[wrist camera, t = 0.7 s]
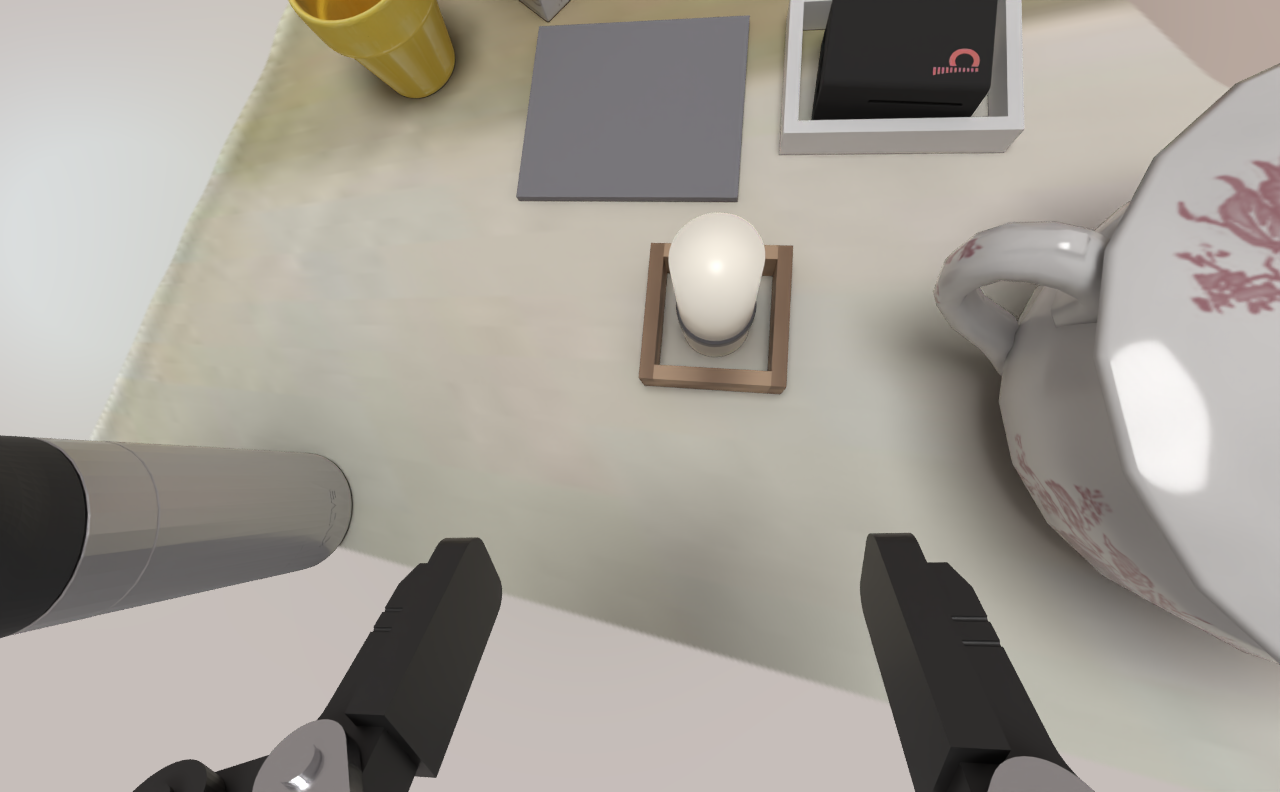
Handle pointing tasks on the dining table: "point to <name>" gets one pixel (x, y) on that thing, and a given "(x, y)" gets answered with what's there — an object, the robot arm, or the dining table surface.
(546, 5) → the coffee box
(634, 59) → the charcoal mat
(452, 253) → the dining table surface
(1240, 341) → the chamber pot
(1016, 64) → the grey organizer frame
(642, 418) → the dining table surface
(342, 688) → the robot arm
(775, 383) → the walnut collar
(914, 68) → the electronic device
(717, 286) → the white capsule dome
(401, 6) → the plant pot
